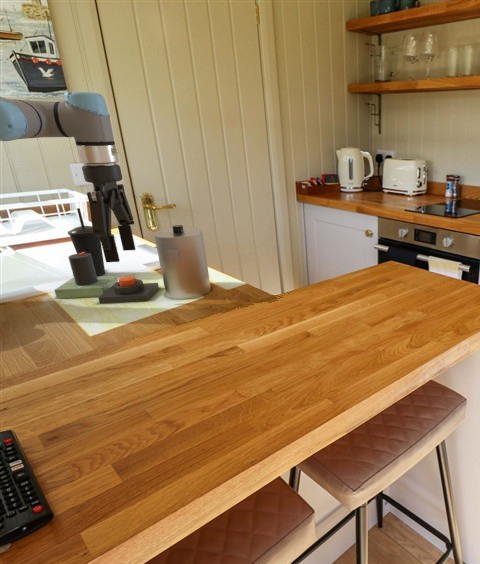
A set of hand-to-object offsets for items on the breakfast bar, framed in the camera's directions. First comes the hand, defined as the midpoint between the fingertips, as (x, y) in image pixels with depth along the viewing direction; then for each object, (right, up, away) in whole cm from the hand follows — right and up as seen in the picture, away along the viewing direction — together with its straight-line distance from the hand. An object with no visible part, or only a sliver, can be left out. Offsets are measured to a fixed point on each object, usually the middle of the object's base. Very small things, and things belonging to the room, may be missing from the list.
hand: (121, 255), depth 107 cm
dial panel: (-13, -10, +7) cm, 17 cm away
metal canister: (+13, -10, +8) cm, 18 cm away
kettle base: (0, -11, +4) cm, 12 cm away
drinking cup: (-21, -5, +20) cm, 29 cm away
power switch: (0, -7, +3) cm, 8 cm away
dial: (-13, -7, +5) cm, 16 cm away
